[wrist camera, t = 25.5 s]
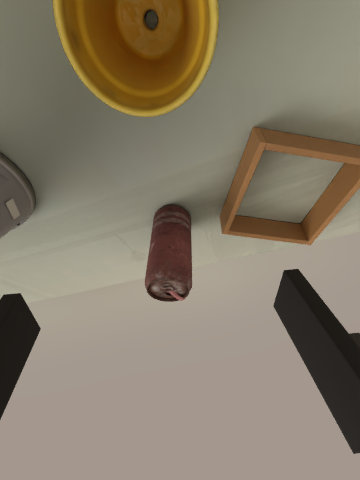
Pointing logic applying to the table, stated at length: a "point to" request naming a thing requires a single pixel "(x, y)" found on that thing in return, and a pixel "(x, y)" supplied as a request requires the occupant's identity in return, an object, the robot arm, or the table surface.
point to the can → (170, 255)
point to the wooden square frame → (326, 208)
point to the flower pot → (139, 50)
